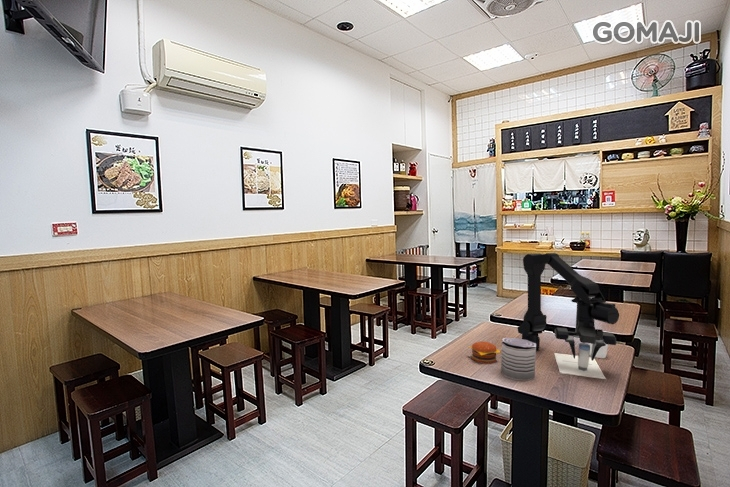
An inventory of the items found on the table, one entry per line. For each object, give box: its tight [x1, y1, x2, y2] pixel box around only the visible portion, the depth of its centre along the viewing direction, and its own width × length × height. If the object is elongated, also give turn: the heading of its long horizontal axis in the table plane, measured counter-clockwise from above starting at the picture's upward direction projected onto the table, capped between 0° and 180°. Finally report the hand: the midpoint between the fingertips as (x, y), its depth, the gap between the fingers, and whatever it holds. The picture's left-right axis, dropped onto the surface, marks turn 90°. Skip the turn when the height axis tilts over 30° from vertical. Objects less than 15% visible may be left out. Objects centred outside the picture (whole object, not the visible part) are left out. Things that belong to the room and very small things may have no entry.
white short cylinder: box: [588, 343, 609, 359], centre depth 153 cm, size 7×7×7 cm
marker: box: [577, 342, 590, 371], centre depth 139 cm, size 3×3×9 cm
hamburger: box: [468, 340, 502, 365], centre depth 150 cm, size 9×10×7 cm
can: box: [500, 337, 537, 382], centre depth 136 cm, size 11×11×12 cm
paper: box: [553, 352, 607, 380], centre depth 144 cm, size 14×20×1 cm
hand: (583, 359), depth 139 cm, fingers open, 5 cm apart
